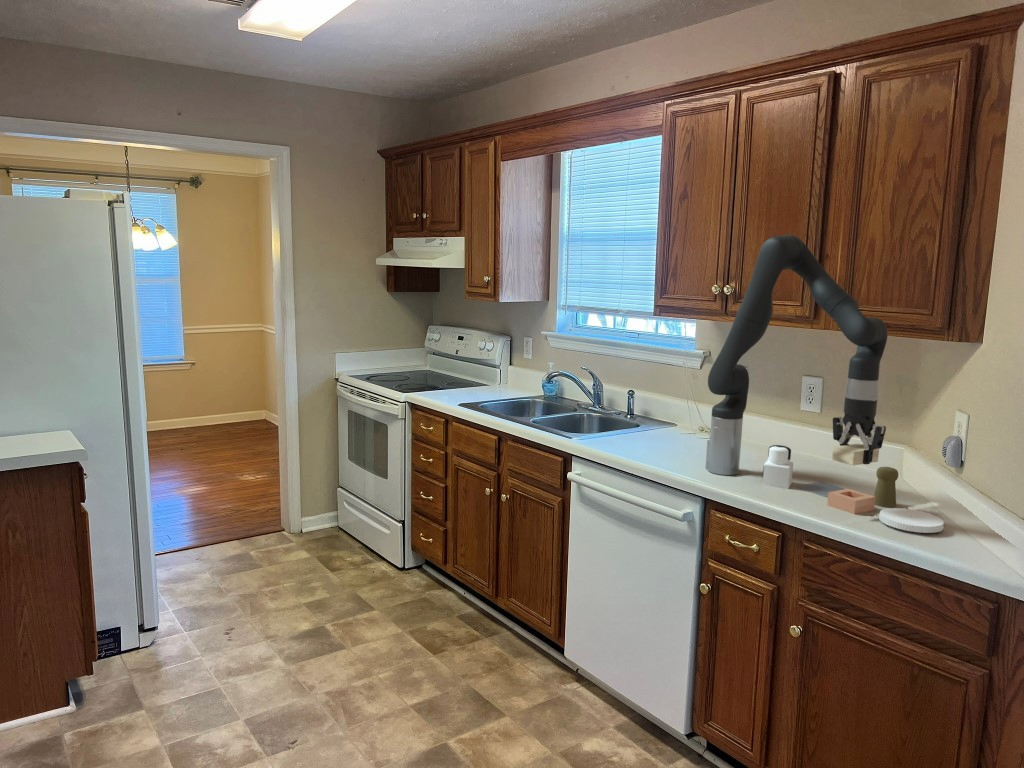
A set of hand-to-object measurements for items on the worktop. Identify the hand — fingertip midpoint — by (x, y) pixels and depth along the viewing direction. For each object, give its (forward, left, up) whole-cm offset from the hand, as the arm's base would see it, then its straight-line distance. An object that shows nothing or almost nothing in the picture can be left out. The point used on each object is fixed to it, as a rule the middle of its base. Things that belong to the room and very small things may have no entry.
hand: (855, 460), depth 192 cm
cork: (+2, +11, -14) cm, 18 cm away
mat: (-14, +8, -13) cm, 21 cm away
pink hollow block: (0, 0, -13) cm, 13 cm away
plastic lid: (+14, +4, -14) cm, 20 cm away
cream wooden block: (0, 0, 0) cm, 0 cm away
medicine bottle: (-24, 0, -14) cm, 28 cm away
